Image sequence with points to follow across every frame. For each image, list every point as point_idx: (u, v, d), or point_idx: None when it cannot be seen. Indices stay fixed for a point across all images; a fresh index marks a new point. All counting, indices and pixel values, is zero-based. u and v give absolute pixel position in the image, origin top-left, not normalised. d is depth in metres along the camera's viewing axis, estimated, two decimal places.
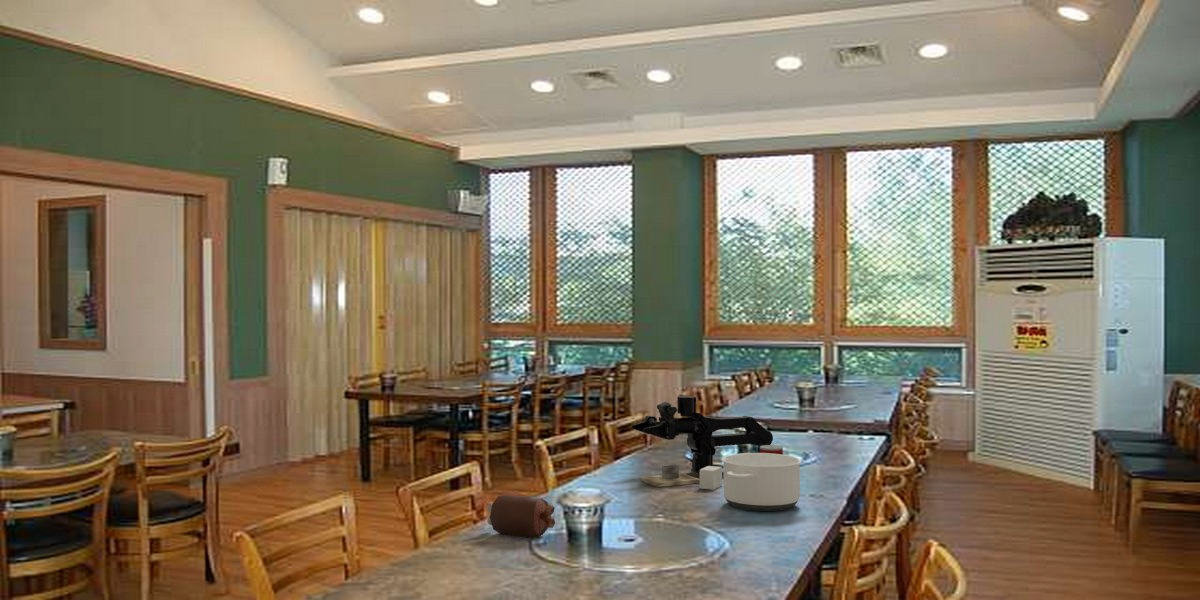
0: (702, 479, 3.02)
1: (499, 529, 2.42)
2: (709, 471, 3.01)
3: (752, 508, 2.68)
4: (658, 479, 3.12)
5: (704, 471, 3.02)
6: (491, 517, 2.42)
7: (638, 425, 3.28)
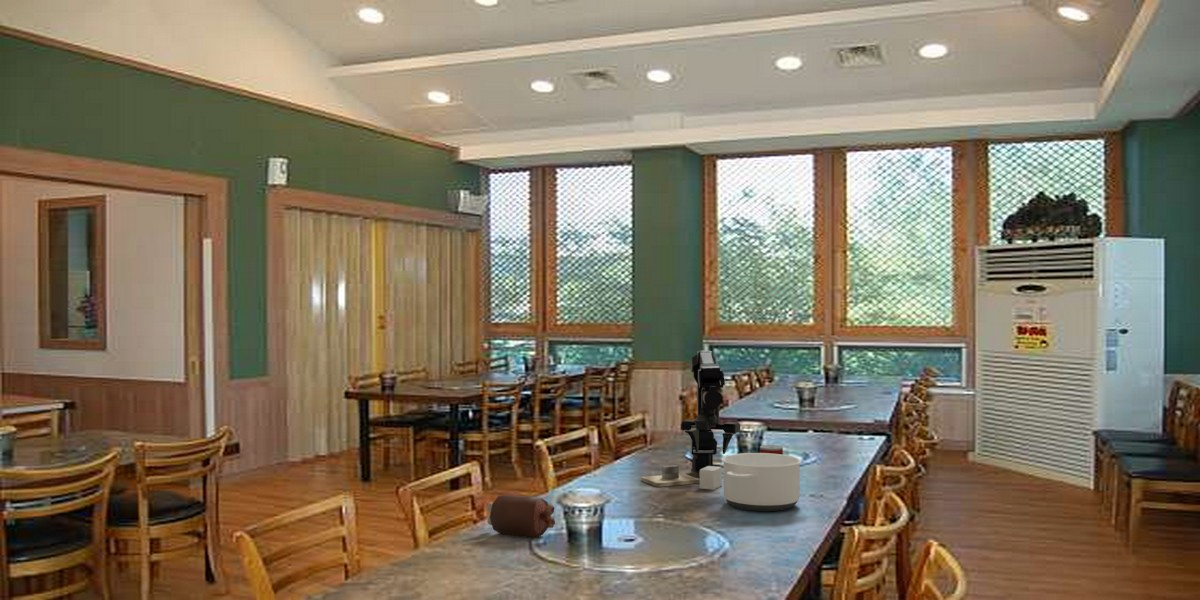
0: (702, 479, 3.02)
1: (499, 529, 2.42)
2: (709, 471, 3.01)
3: (752, 508, 2.68)
4: (658, 479, 3.12)
5: (704, 471, 3.02)
6: (491, 517, 2.42)
7: (696, 444, 3.07)
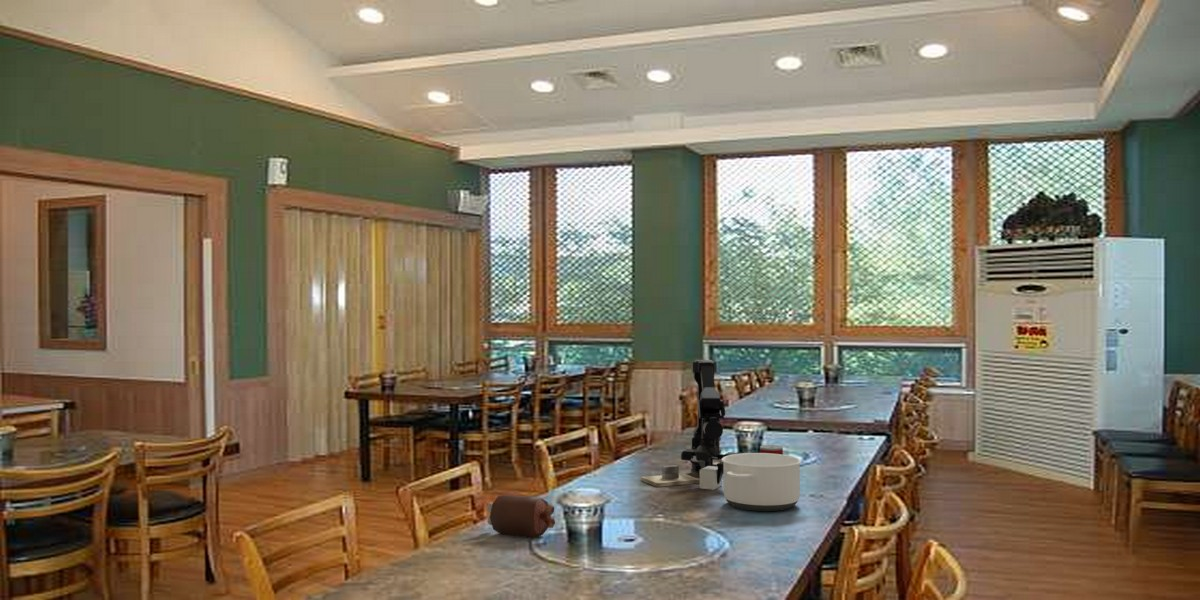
0: (702, 479, 3.02)
1: (499, 529, 2.42)
2: (709, 471, 3.01)
3: (752, 508, 2.68)
4: (658, 479, 3.12)
5: (704, 471, 3.02)
6: (491, 517, 2.42)
7: None
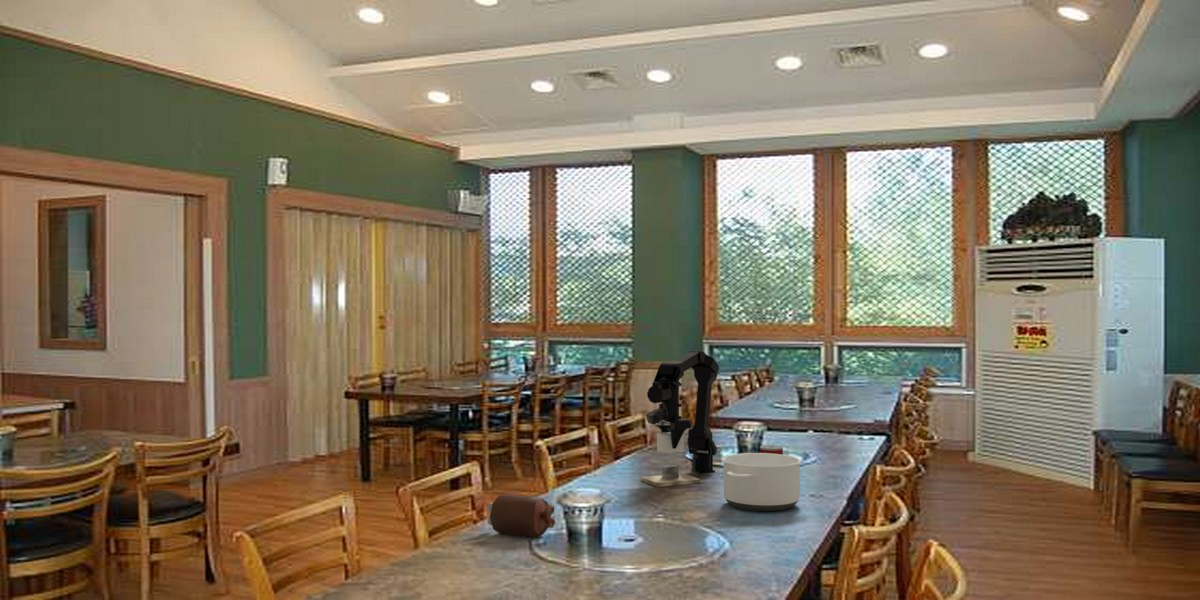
0: (658, 442, 3.14)
1: (499, 529, 2.42)
2: (661, 435, 3.11)
3: (752, 508, 2.68)
4: (658, 479, 3.12)
5: (659, 434, 3.13)
6: (491, 517, 2.42)
7: None
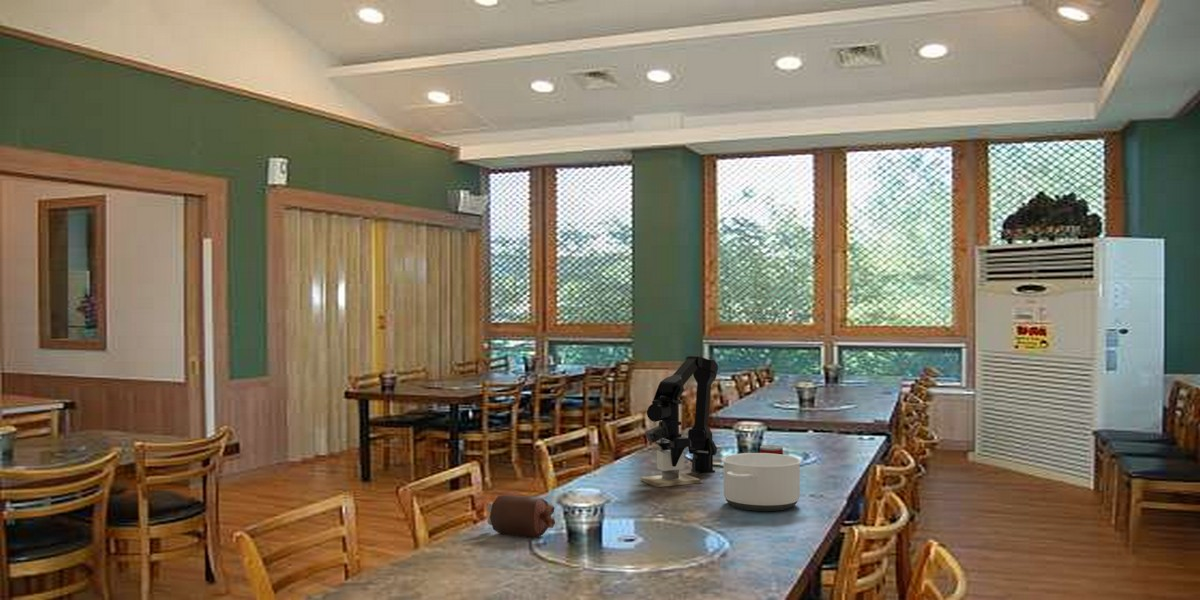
0: (658, 460, 3.14)
1: (499, 529, 2.42)
2: (661, 453, 3.12)
3: (752, 508, 2.68)
4: (658, 479, 3.12)
5: (659, 452, 3.13)
6: (491, 517, 2.42)
7: None
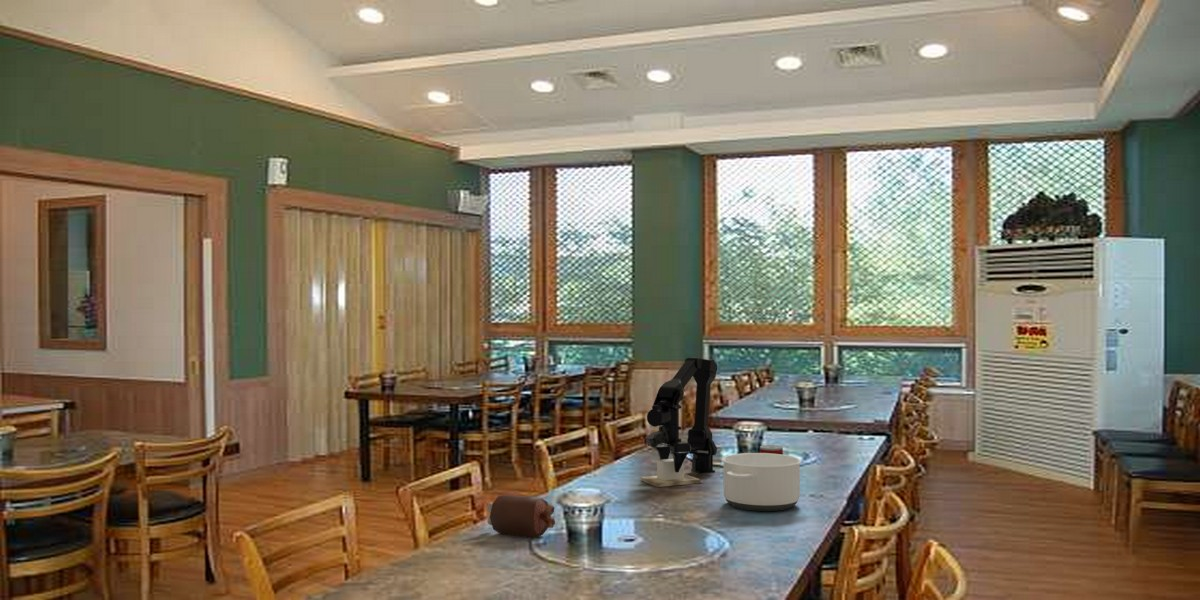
0: (658, 469, 3.14)
1: (499, 529, 2.42)
2: (661, 462, 3.12)
3: (752, 508, 2.68)
4: (658, 479, 3.12)
5: (659, 461, 3.13)
6: (491, 517, 2.42)
7: None
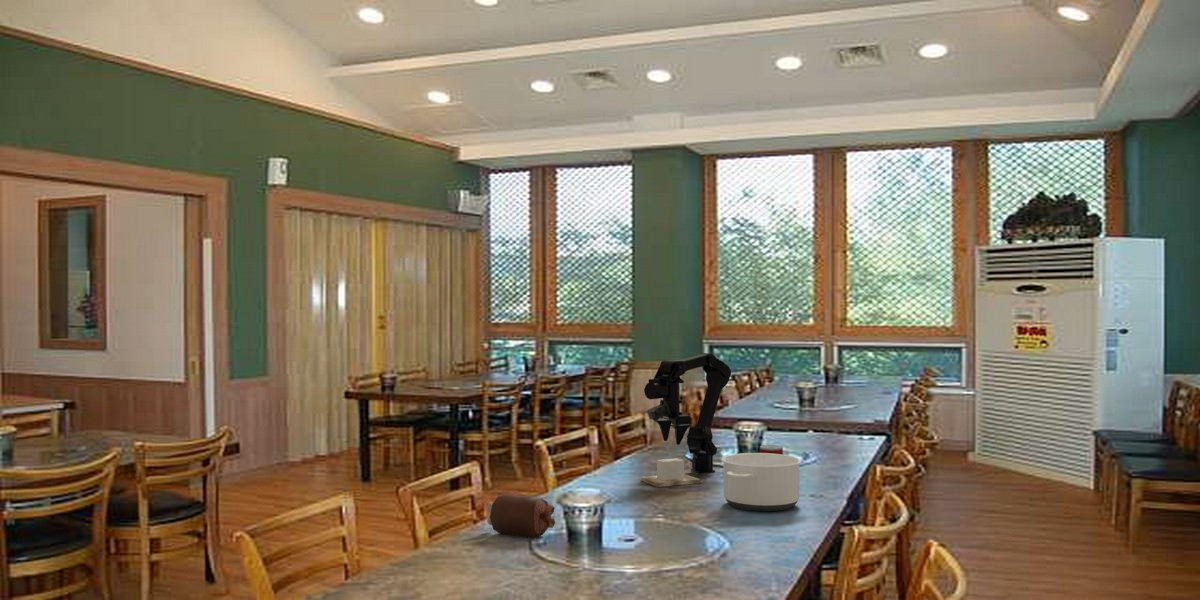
0: (658, 469, 3.14)
1: (499, 529, 2.42)
2: (661, 462, 3.12)
3: (752, 508, 2.68)
4: (658, 479, 3.12)
5: (659, 461, 3.13)
6: (491, 517, 2.42)
7: (664, 433, 3.26)
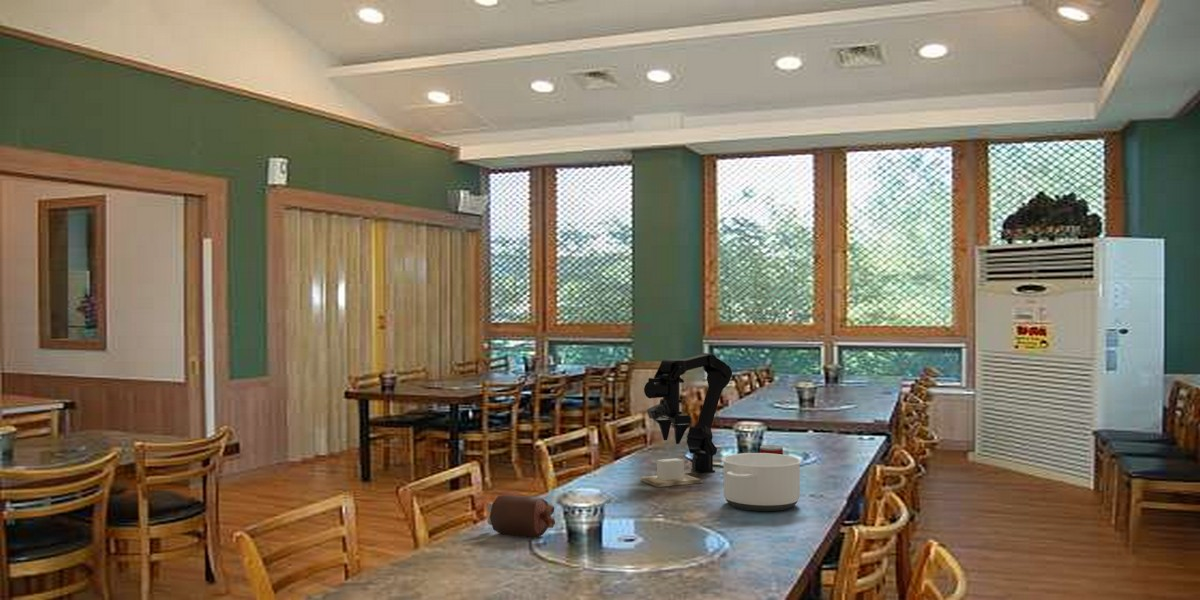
0: (658, 469, 3.14)
1: (499, 529, 2.42)
2: (661, 462, 3.12)
3: (752, 508, 2.68)
4: (658, 479, 3.12)
5: (659, 461, 3.13)
6: (491, 517, 2.42)
7: (664, 433, 3.26)
